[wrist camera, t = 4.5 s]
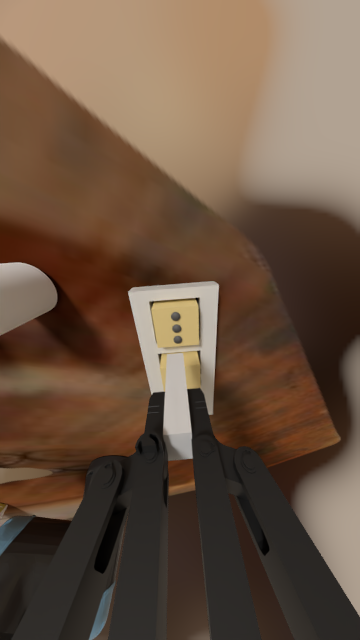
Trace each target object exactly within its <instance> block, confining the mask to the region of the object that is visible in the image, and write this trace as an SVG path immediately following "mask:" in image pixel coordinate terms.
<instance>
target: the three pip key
mask: <svg viewBox="0 0 360 640" xmlns="http://www.w3.org/2000/svg"><path fill="white" fill-rule="evenodd" d="M151 311H152V317H153V323H154V329H155V335H156V341H157V346H158V348H163V347H175V346H187V345H199V339H200V332H199V328H200V321H199V316H200V315H199V307H198V304H197V301H196V299H195V298H186V299H173V300H161V301H154V303H153V306H152V309H151Z"/></svg>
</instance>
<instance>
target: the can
mask: <svg viewBox="0 0 360 640" xmlns="http://www.w3.org/2000/svg"><path fill="white" fill-rule="evenodd" d="M56 303H57V291H56V289H55V286H54V284H53V283H52V281H51V280H50V279H49V278H48V277H47V276H46V275H45V274H44V273H43V272H42V271H40V270H39V269H37V268H35V267H34V266H31V265H29V264H25V263H6V264H0V335H2V334H4V333H6V332H8V331H10V330H12V329H14V328H16V327H18V326H20V325H22V324H24V323H26V322H28V321H30V320H32V319H34V318H36V317H38V316H40V315H42V314H44V313H46V312H48V311H50V310H52V309H53V308H54V307H55V305H56Z"/></svg>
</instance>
